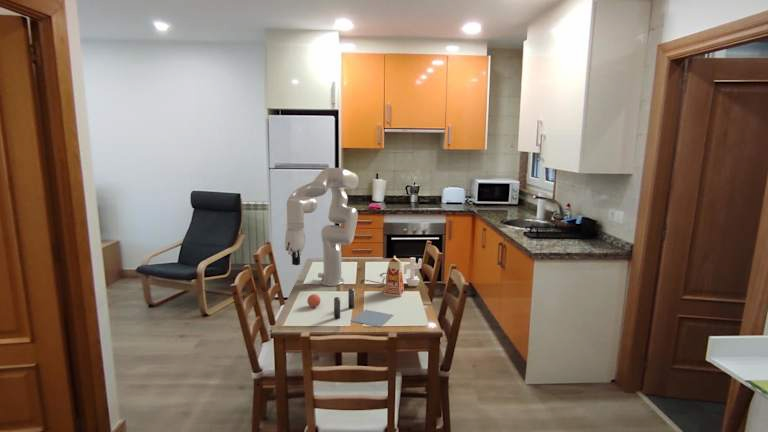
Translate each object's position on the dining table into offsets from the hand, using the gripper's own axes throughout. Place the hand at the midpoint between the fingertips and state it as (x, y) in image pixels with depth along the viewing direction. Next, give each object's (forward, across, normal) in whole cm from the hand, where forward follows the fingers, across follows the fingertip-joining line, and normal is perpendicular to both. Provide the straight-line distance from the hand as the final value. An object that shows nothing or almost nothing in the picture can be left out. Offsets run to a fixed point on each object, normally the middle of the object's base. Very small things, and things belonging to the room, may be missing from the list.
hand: (296, 264), depth 207 cm
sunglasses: (+20, -48, +22) cm, 56 cm away
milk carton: (+19, -34, +36) cm, 53 cm away
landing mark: (+19, 0, +40) cm, 44 cm away
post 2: (+19, -7, +26) cm, 33 cm away
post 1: (+19, +6, +26) cm, 33 cm away
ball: (+16, 0, +10) cm, 19 cm away
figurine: (+19, -50, +40) cm, 67 cm away
